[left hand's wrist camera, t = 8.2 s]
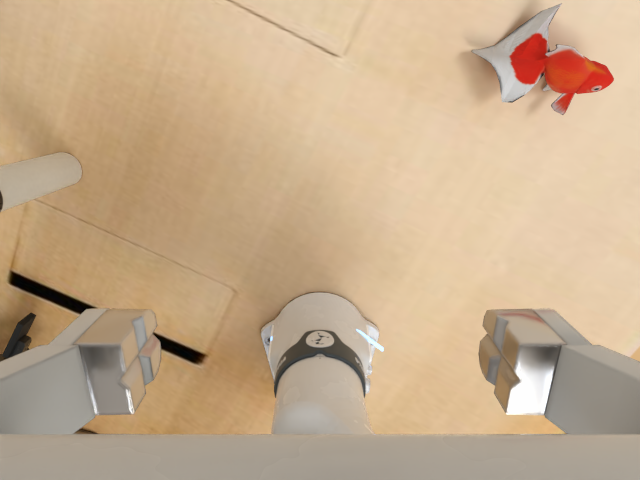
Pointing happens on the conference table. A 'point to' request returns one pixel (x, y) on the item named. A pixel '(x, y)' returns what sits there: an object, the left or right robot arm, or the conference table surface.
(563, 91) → the fish
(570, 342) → the left robot arm
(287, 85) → the conference table surface
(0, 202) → the lid
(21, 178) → the white bottle
